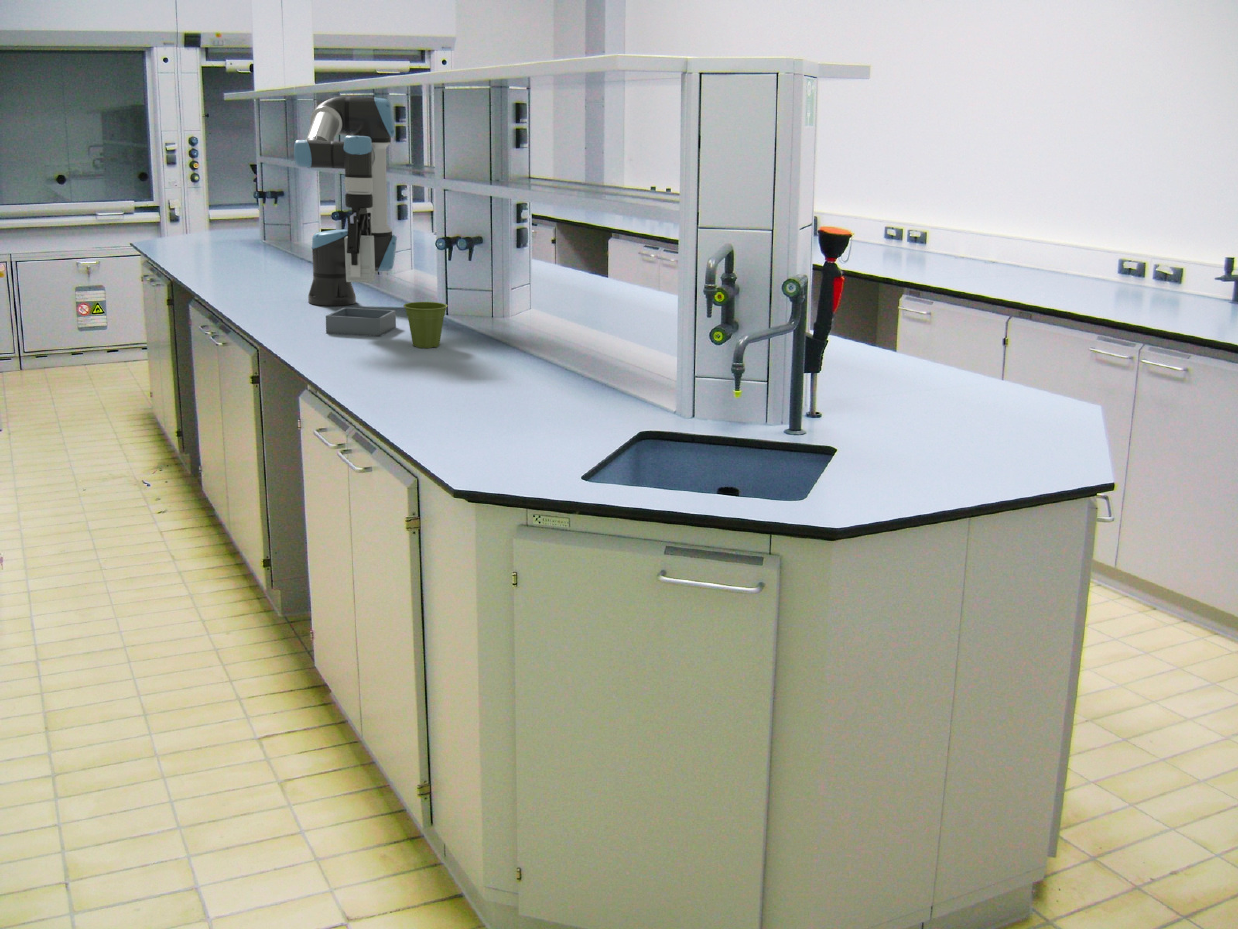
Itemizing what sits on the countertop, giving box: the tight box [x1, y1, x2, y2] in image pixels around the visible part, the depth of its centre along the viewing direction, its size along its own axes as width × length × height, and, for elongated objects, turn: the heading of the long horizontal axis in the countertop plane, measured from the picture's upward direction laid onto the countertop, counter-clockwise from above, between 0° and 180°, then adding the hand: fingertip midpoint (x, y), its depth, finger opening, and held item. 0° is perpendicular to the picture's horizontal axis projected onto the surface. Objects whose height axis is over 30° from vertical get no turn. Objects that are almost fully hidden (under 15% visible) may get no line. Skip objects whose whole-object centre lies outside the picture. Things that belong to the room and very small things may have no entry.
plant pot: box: [402, 301, 449, 349], centre depth 319 cm, size 12×12×11 cm
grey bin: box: [325, 307, 397, 337], centre depth 338 cm, size 16×16×5 cm
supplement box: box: [344, 235, 376, 284], centre depth 333 cm, size 7×7×13 cm
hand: (360, 274), depth 334 cm, fingers closed on supplement box, 8 cm apart
